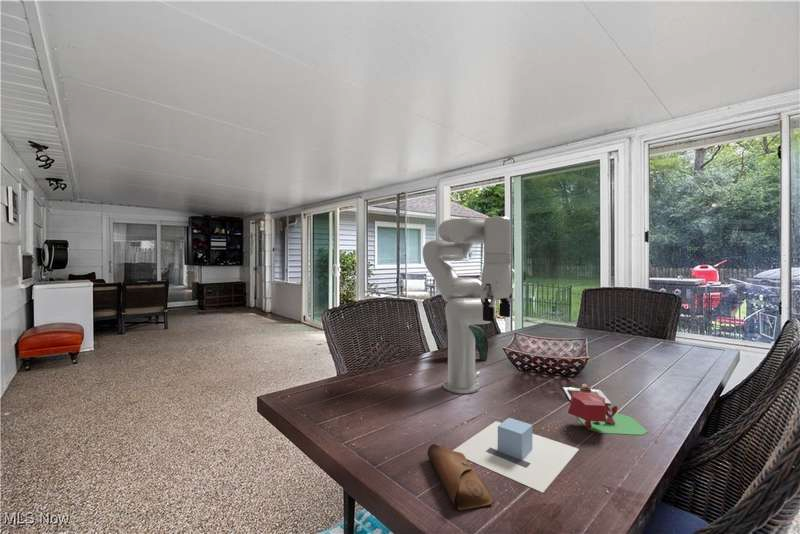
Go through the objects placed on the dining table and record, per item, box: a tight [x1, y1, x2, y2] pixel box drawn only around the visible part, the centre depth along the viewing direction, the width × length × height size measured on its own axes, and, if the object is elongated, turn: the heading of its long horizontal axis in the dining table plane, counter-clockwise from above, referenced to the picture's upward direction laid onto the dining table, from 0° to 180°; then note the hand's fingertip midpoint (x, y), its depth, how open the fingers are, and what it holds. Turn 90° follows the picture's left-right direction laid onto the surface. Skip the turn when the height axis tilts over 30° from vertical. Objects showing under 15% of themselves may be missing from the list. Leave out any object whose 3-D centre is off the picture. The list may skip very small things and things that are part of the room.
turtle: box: [567, 391, 649, 436], centre depth 101 cm, size 15×20×9 cm
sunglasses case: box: [427, 443, 494, 511], centre depth 76 cm, size 18×7×7 cm
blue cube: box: [498, 417, 534, 460], centre depth 87 cm, size 6×6×6 cm
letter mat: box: [452, 420, 580, 494], centre depth 87 cm, size 22×22×1 cm
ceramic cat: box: [442, 320, 489, 362], centre depth 166 cm, size 20×6×20 cm, turn 80°
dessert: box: [562, 383, 612, 405], centre depth 121 cm, size 12×12×5 cm
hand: (496, 318), depth 106 cm, fingers open, 9 cm apart
